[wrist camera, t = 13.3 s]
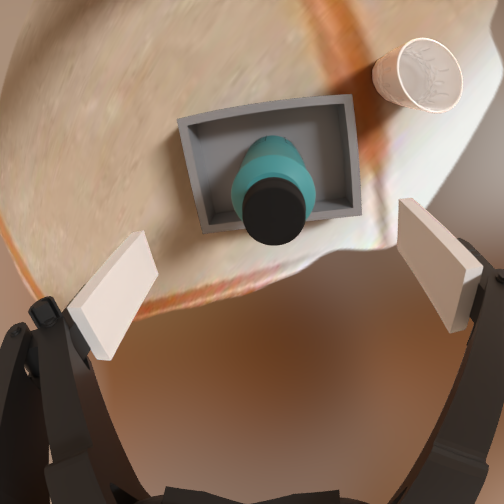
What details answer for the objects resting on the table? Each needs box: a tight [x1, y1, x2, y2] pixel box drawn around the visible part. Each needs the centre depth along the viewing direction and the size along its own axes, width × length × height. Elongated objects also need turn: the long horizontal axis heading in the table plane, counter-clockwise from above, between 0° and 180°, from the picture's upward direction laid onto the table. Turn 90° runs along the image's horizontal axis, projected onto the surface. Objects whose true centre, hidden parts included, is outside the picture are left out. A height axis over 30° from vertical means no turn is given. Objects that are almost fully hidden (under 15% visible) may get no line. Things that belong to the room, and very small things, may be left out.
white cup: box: [372, 38, 463, 113], centre depth 26 cm, size 8×8×10 cm
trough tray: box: [177, 94, 362, 234], centre depth 35 cm, size 14×19×5 cm
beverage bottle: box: [231, 135, 316, 245], centre depth 27 cm, size 6×7×20 cm
